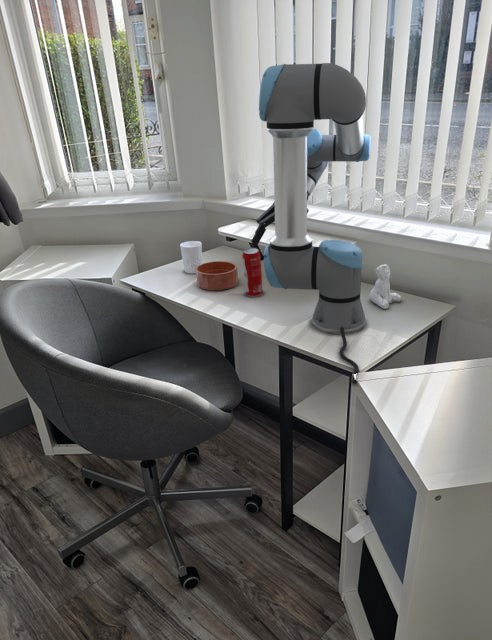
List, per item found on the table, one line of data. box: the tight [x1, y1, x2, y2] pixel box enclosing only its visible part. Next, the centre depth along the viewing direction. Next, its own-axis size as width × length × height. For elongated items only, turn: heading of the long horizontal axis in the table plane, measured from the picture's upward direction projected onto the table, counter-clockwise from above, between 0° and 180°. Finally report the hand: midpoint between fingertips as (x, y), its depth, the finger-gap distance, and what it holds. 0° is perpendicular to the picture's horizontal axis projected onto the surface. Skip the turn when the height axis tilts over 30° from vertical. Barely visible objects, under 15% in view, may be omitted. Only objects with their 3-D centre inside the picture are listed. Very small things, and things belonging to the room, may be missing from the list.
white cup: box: [179, 240, 204, 274], centre depth 199 cm, size 8×8×10 cm
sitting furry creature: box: [369, 263, 402, 310], centre depth 166 cm, size 10×9×12 cm
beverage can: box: [241, 247, 264, 298], centre depth 175 cm, size 6×6×15 cm
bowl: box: [195, 260, 239, 292], centre depth 187 cm, size 14×14×6 cm
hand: (267, 247), depth 176 cm, fingers open, 13 cm apart
